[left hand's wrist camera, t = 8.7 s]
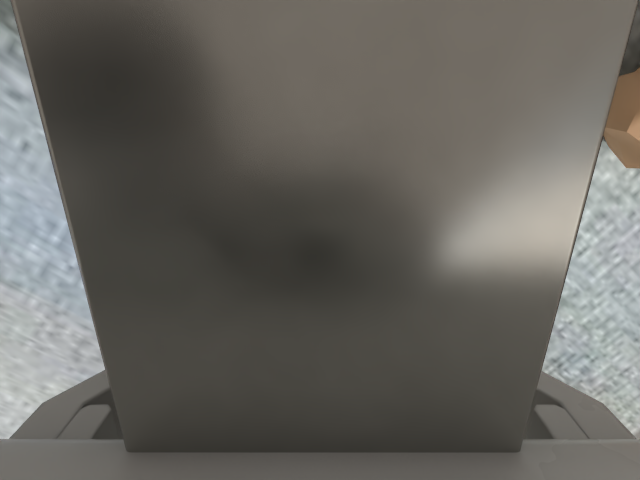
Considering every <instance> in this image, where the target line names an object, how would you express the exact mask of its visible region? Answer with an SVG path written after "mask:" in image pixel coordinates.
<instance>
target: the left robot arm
mask: <svg viewBox="0 0 640 480" xmlns="http://www.w3.org/2000/svg"><path fill="white" fill-rule="evenodd" d="M0 480H640V439H636V438H635V437H634V436H633V435H632V434H631V432H630V431H629V430H628V429H627V428H626V427H625V426H624V425H623V424H622V423H621V422H620V421H619V420H618V419H617V418H616V417H615V416H614V415H613V413H612V412H611V411H610V410H609V409H608V408H607V407H606V406H605V405H604V404H603V403H601V402H599V401H597V400H595V399H593V398H592V397H590V396H588V395H586V394H584V393H582V392H580V391H578V390H576V389H574V388H573V387H571V386H569V385H567V384H565V383H563V382H561V381H559V380H557V379H555V378H554V377H552V376H550V375H548V374H546V373H544V372H542V371H541V374H540V378H539V381H538V385H537V389H536V393H535V396H534V400H533V404H532V408H531V412H530V415H529V419H528V423H527V427H526V431H525V434H524V438H523V442H522V446H521V450H520V451H519V452H517V453H130V452H127V451H126V448H125V444H124V440H123V436H122V432H121V428H120V425H119V421H118V417H117V413H116V409H115V405H114V401H113V397H112V393H111V390H110V386H109V382H108V378H107V374H106V370H104V371H102V372H100V373H98V374H96V375H95V376H93V377H91V378H89V379H87V380H85V381H83V382H81V383H79V384H78V385H76V386H74V387H72V388H70V389H68V390H66V391H64V392H62V393H61V394H59V395H57V396H55V397H53V398H51V399H49V400H47V401H46V402H44V403H42V404H41V405H40V406H39V407H38V409H37V410H36V411H35V412H34V413H33V414H32V415H31V416H30V417H29V418H28V419H27V420H26V421H25V422H24V423H23V424H22V426H21V427H20V428H19V429H18V430H17V431H16V432H15V433H14V434H13V435H12V436H11V437H10V438H9V439H0Z"/></svg>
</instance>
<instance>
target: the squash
mask: <svg viewBox="0 0 640 480" xmlns="http://www.w3.org/2000/svg"><path fill="white" fill-rule="evenodd" d="M603 136H604V138H605V140H606V142H607V144H608V146H609V147H610V149H611V150H612V151H613V152H614V154H615V155H616V156H617V157H618V158H619V160H620V161H621V162H622V163H623V165H624V166H625V167H626V168H640V67H639V68H638V69H637V70H636V71H635V72H632V73H628V74H625V75H621V76H619V78H618V82H617V85H616V89H615V93H614V97H613V101H612V104H611V108H610V112H609V116H608V120H607V123H606V127H605V131H604V135H603Z"/></svg>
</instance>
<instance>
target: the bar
mask: <svg viewBox="0 0 640 480" xmlns="http://www.w3.org/2000/svg"><path fill="white" fill-rule="evenodd" d="M638 2H639V0H11V4H12V8H13V12H14V16H15V20H16V24H17V28H18V32H19V35H20V39H21V43H22V47H23V51H24V55H25V59H26V63H27V67H28V70H29V74H30V78H31V82H32V86H33V90H34V94H35V98H36V102H37V105H38V109H39V113H40V117H41V121H42V125H43V129H44V133H45V137H46V140H47V144H48V148H49V152H50V156H51V160H52V164H53V168H54V172H55V176H56V179H57V183H58V187H59V191H60V195H61V199H62V203H63V207H64V211H65V214H66V218H67V222H68V226H69V230H70V234H71V238H72V242H73V246H74V249H75V253H76V257H77V261H78V265H79V269H80V273H81V277H82V281H83V284H84V288H85V292H86V296H87V300H88V304H89V308H90V312H91V316H92V319H93V323H94V327H95V331H96V335H97V339H98V343H99V347H100V351H101V355H102V358H103V362H104V366H105V370H106V374H107V378H108V382H109V386H110V390H111V393H112V397H113V401H114V405H115V409H116V413H117V417H118V421H119V425H120V428H121V432H122V436H123V440H124V444H125V448H126V451H127V452H130V453H517V452H519V451H520V450H521V446H522V442H523V438H524V434H525V431H526V427H527V423H528V419H529V415H530V412H531V408H532V404H533V400H534V396H535V393H536V389H537V385H538V381H539V378H540V374H541V370H542V366H543V362H544V359H545V355H546V351H547V347H548V343H549V340H550V336H551V332H552V328H553V324H554V321H555V317H556V313H557V309H558V305H559V302H560V298H561V294H562V290H563V286H564V283H565V279H566V275H567V271H568V267H569V264H570V260H571V256H572V252H573V249H574V245H575V241H576V237H577V233H578V230H579V226H580V222H581V218H582V214H583V211H584V207H585V203H586V199H587V195H588V192H589V188H590V184H591V180H592V176H593V173H594V169H595V165H596V161H597V157H598V154H599V150H600V146H601V142H602V138H603V135H604V131H605V127H606V123H607V120H608V116H609V112H610V108H611V104H612V101H613V97H614V93H615V89H616V85H617V82H618V78H619V74H620V70H621V66H622V63H623V59H624V55H625V51H626V47H627V44H628V40H629V36H630V32H631V28H632V25H633V21H634V17H635V13H636V10H637V6H638Z"/></svg>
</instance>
